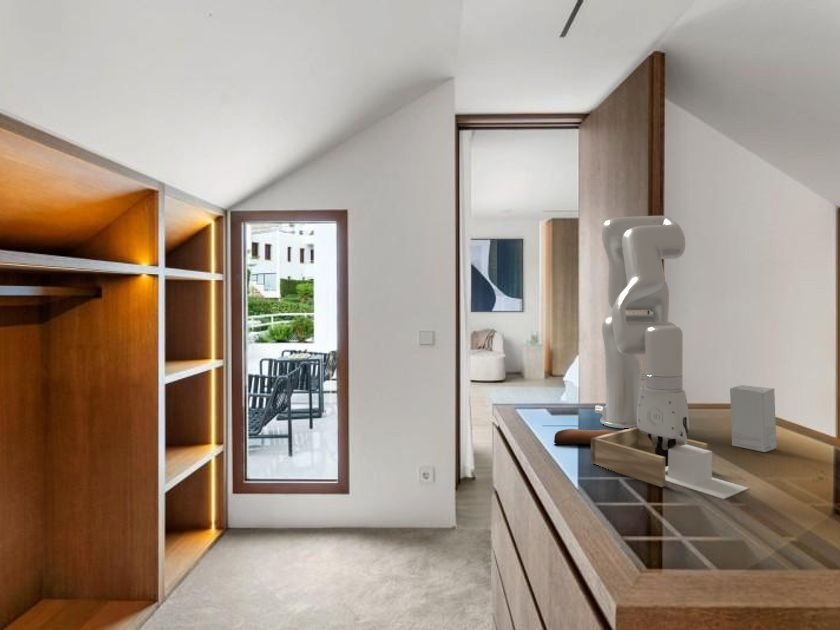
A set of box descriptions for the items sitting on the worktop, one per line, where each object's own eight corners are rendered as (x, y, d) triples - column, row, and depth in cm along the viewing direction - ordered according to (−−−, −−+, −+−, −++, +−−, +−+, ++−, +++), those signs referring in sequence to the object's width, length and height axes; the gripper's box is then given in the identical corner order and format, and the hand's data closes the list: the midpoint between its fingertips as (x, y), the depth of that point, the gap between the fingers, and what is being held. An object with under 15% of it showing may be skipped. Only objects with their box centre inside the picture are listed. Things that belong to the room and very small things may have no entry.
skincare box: (776, 448, 139) (777, 388, 138) (764, 453, 136) (765, 391, 135) (741, 441, 146) (742, 383, 145) (728, 445, 143) (729, 386, 142)
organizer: (661, 487, 117) (661, 458, 116) (591, 463, 132) (590, 438, 132) (707, 470, 126) (707, 443, 125) (636, 450, 141) (636, 426, 141)
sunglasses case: (624, 438, 151) (625, 420, 147) (626, 459, 145) (628, 441, 141) (554, 436, 155) (553, 418, 151) (554, 456, 149) (553, 438, 146)
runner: (611, 464, 132) (612, 463, 132) (637, 456, 136) (637, 455, 136) (723, 499, 110) (723, 498, 110) (748, 488, 115) (748, 487, 115)
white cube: (711, 479, 120) (712, 451, 119) (693, 485, 117) (693, 456, 116) (686, 471, 125) (686, 444, 125) (667, 476, 122) (668, 448, 122)
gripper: (623, 379, 129) (623, 460, 130) (684, 390, 116) (684, 478, 117) (644, 376, 133) (644, 453, 134) (706, 385, 120) (705, 471, 121)
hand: (663, 465), depth 125 cm, fingers closed
